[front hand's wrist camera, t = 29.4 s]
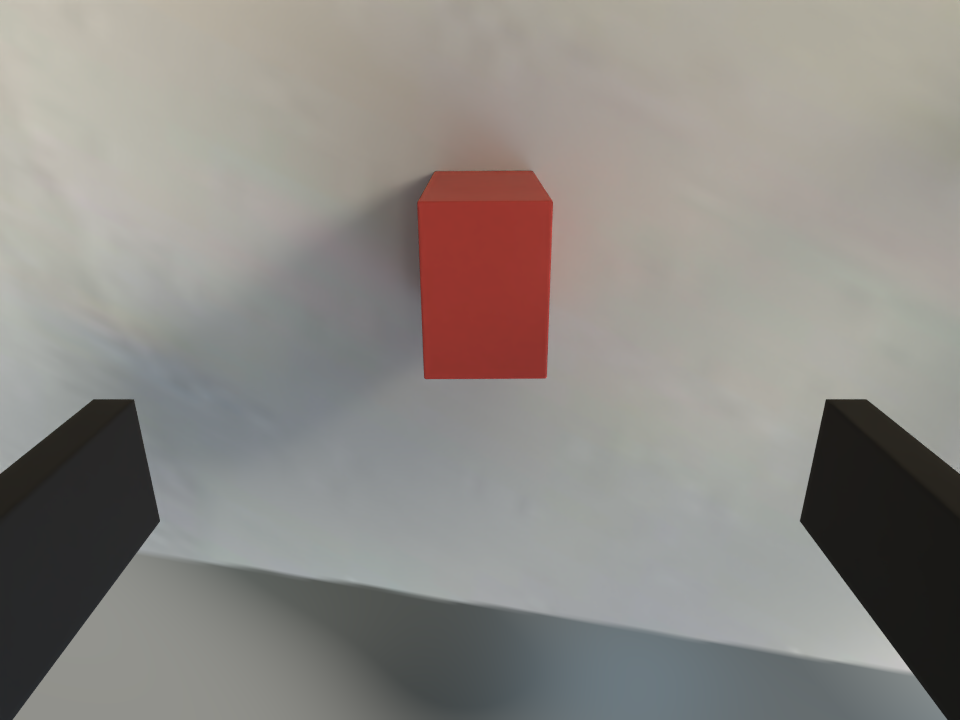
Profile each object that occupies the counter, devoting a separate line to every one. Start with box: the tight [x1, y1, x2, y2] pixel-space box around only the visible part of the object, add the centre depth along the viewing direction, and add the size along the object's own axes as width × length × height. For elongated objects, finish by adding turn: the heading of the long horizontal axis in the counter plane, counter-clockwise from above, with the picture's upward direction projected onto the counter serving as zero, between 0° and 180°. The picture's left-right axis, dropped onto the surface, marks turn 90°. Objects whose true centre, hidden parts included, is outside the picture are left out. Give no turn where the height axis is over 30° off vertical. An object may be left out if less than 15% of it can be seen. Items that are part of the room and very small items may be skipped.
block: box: [417, 171, 553, 379], centre depth 28 cm, size 5×7×9 cm
